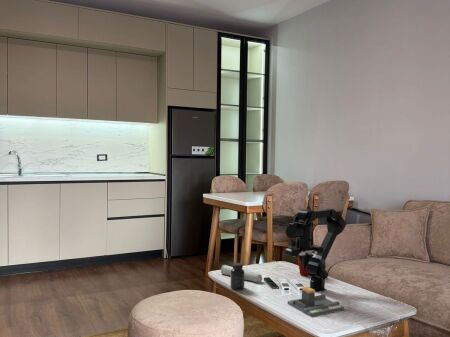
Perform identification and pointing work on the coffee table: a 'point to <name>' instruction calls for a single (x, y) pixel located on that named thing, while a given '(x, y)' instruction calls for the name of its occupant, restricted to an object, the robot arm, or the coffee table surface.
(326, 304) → the panel
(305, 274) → the plastic cup
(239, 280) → the supplement bottle
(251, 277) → the tube
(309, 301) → the handle
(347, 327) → the coffee table surface
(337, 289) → the coffee table surface
